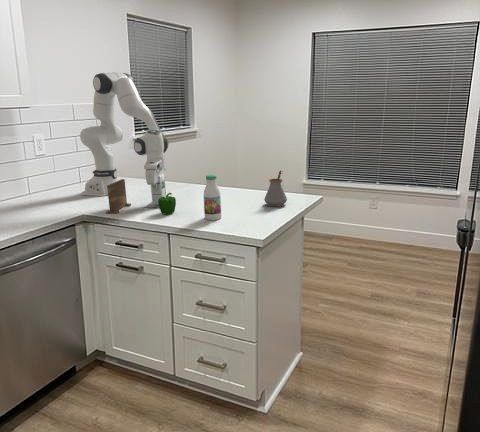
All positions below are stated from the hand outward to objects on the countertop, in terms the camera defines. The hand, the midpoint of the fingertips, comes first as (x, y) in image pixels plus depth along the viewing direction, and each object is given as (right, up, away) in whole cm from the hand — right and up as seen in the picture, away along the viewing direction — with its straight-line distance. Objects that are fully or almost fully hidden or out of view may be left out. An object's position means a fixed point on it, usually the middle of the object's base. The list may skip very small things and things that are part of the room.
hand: (158, 189), depth 233 cm
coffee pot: (+61, -7, +1) cm, 62 cm away
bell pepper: (+7, -12, -14) cm, 20 cm away
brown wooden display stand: (-19, -10, -4) cm, 22 cm away
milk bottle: (+30, -15, -24) cm, 41 cm away
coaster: (0, -8, +2) cm, 8 cm away
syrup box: (0, -7, +2) cm, 7 cm away
